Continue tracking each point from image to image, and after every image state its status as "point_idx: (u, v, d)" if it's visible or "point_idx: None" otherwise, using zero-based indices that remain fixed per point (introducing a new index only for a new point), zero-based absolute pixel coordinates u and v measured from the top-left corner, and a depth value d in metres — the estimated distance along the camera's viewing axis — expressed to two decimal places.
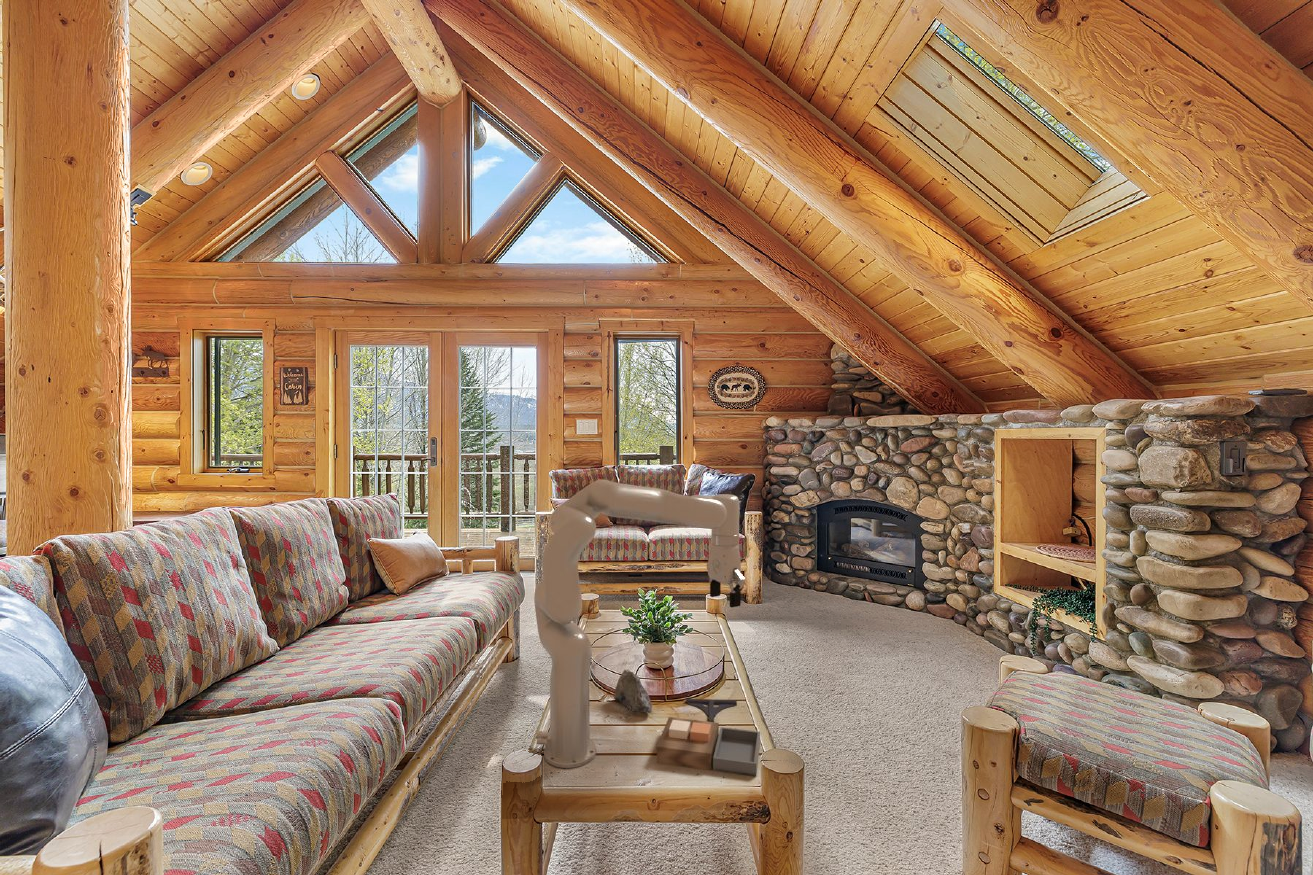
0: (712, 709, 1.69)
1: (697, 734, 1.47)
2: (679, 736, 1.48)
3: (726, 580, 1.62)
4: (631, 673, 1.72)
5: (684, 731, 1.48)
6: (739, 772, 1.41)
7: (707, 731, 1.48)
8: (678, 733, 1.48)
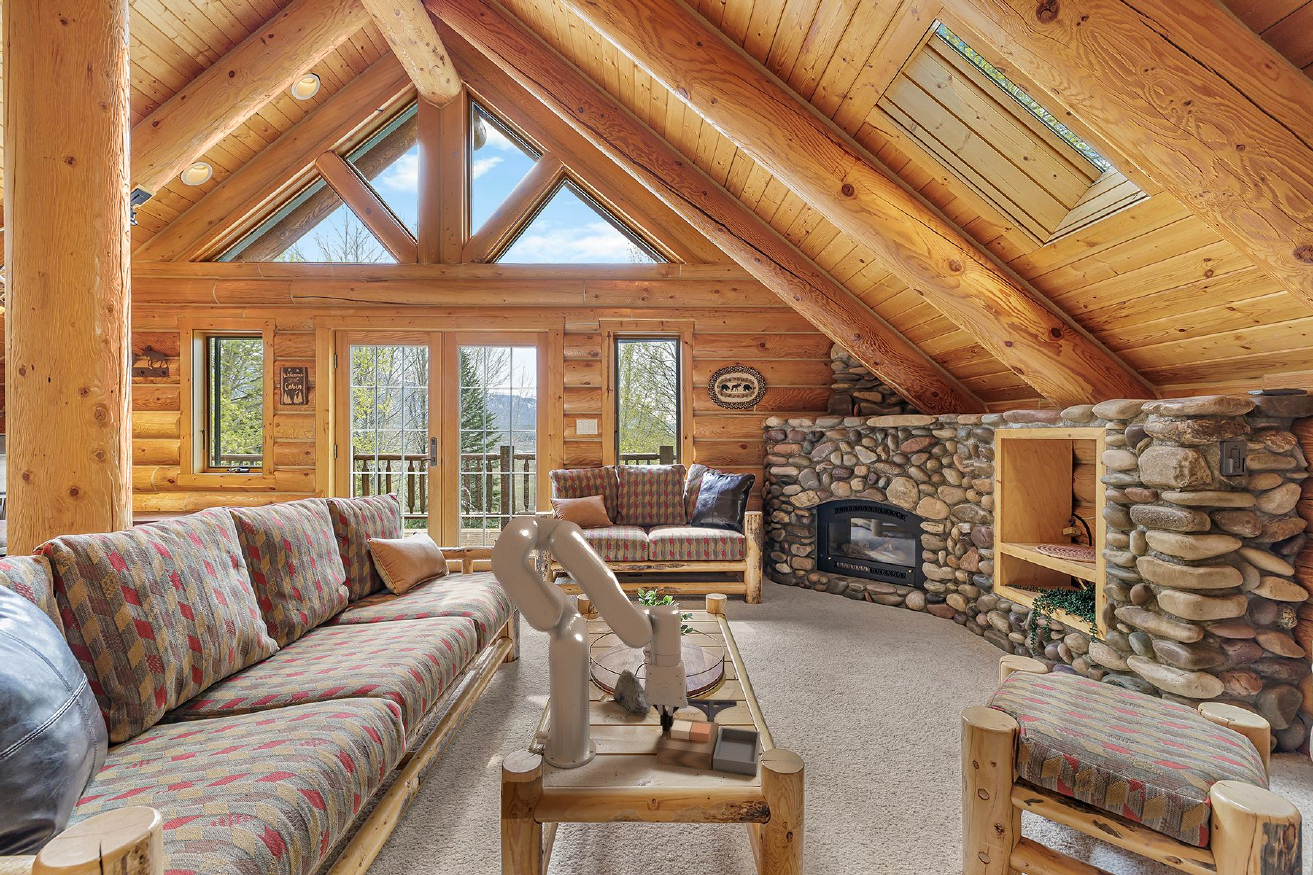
0: (712, 709, 1.69)
1: (697, 734, 1.47)
2: (681, 736, 1.48)
3: (682, 701, 1.47)
4: (630, 673, 1.71)
5: (686, 731, 1.48)
6: (739, 772, 1.41)
7: (707, 731, 1.48)
8: (680, 733, 1.48)
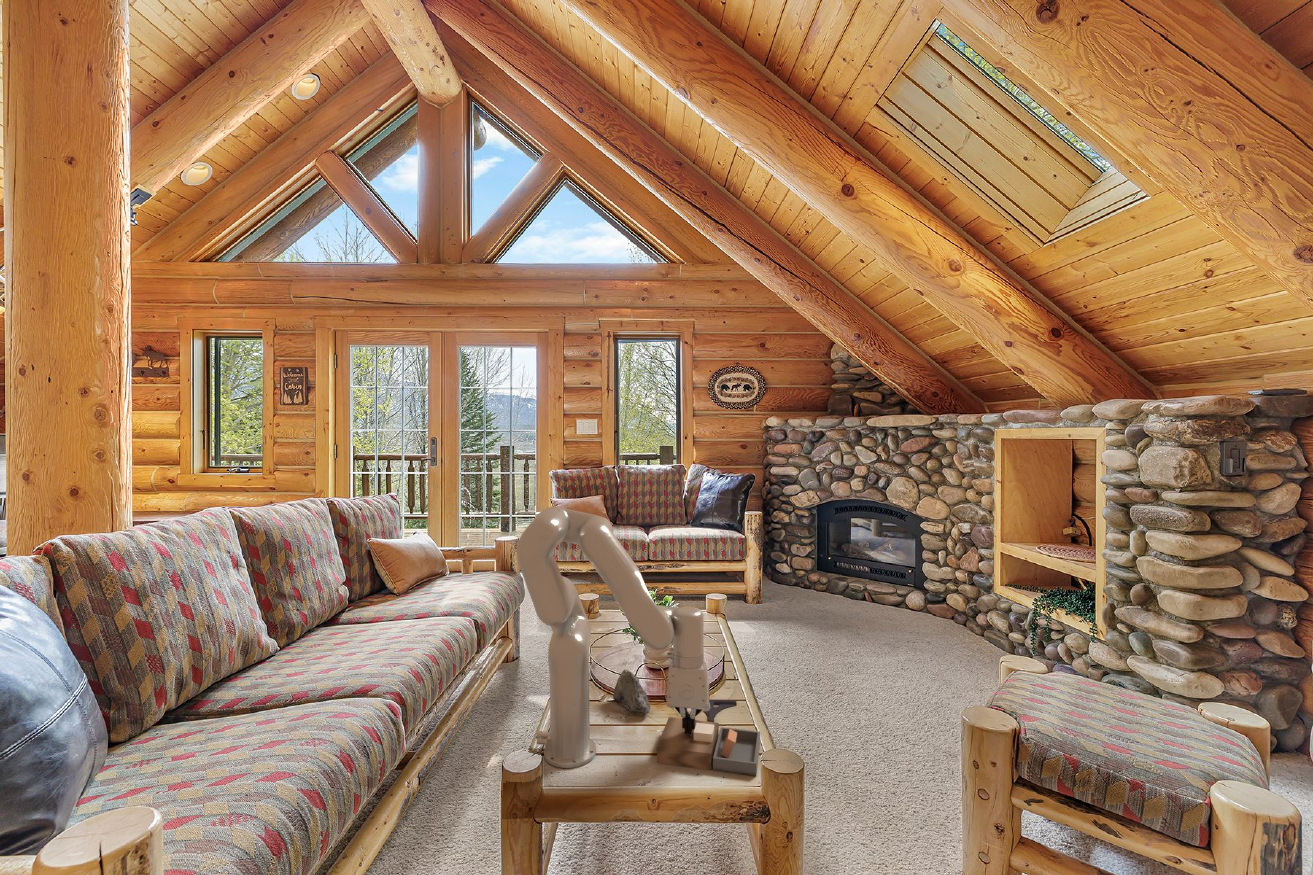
0: (712, 709, 1.69)
1: (730, 747, 1.46)
2: (704, 739, 1.47)
3: (705, 704, 1.46)
4: (630, 673, 1.71)
5: (709, 734, 1.47)
6: (739, 772, 1.41)
7: None
8: (703, 736, 1.47)
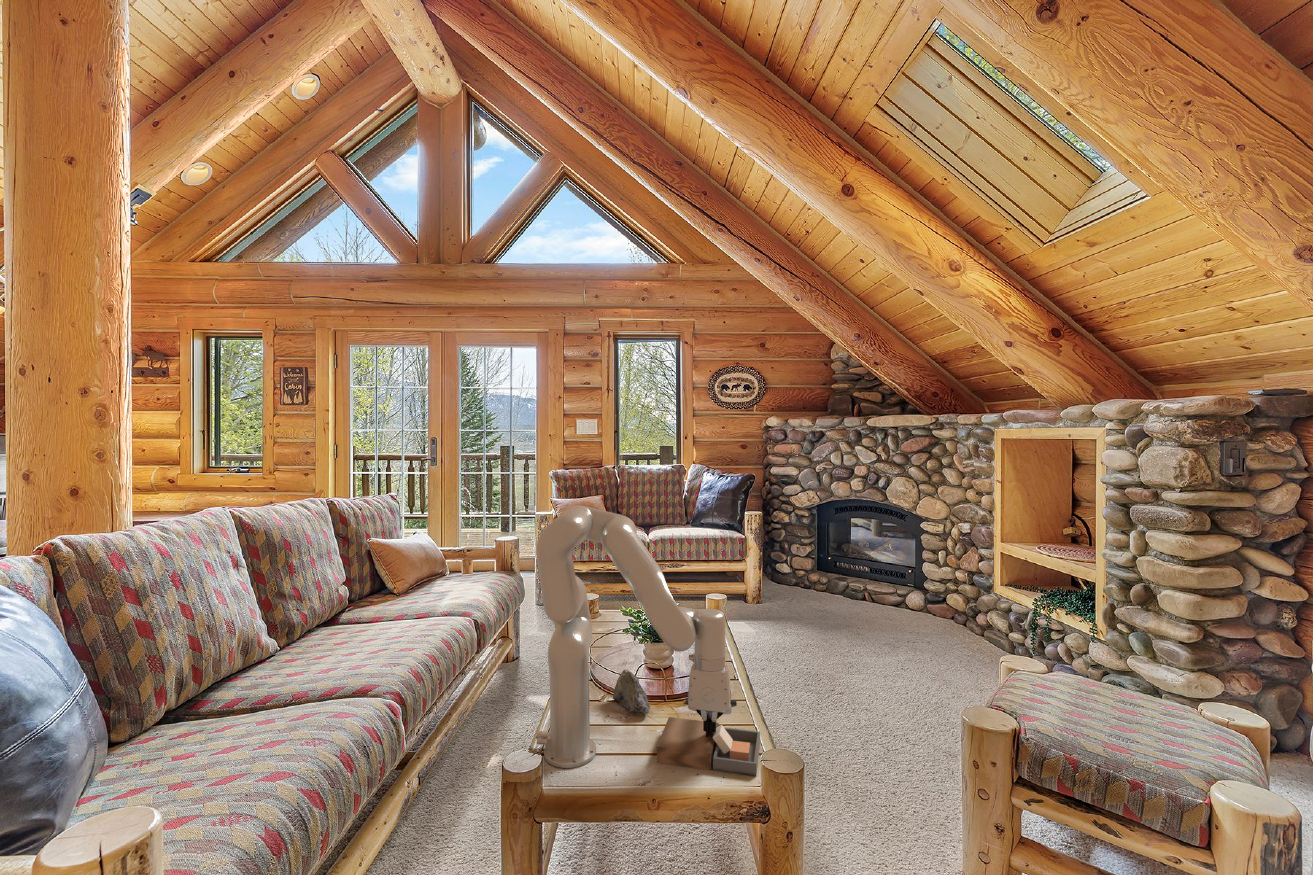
0: None
1: (741, 757, 1.45)
2: (720, 746, 1.46)
3: (727, 707, 1.45)
4: (629, 673, 1.71)
5: (728, 747, 1.46)
6: (739, 772, 1.41)
7: None
8: (722, 743, 1.46)
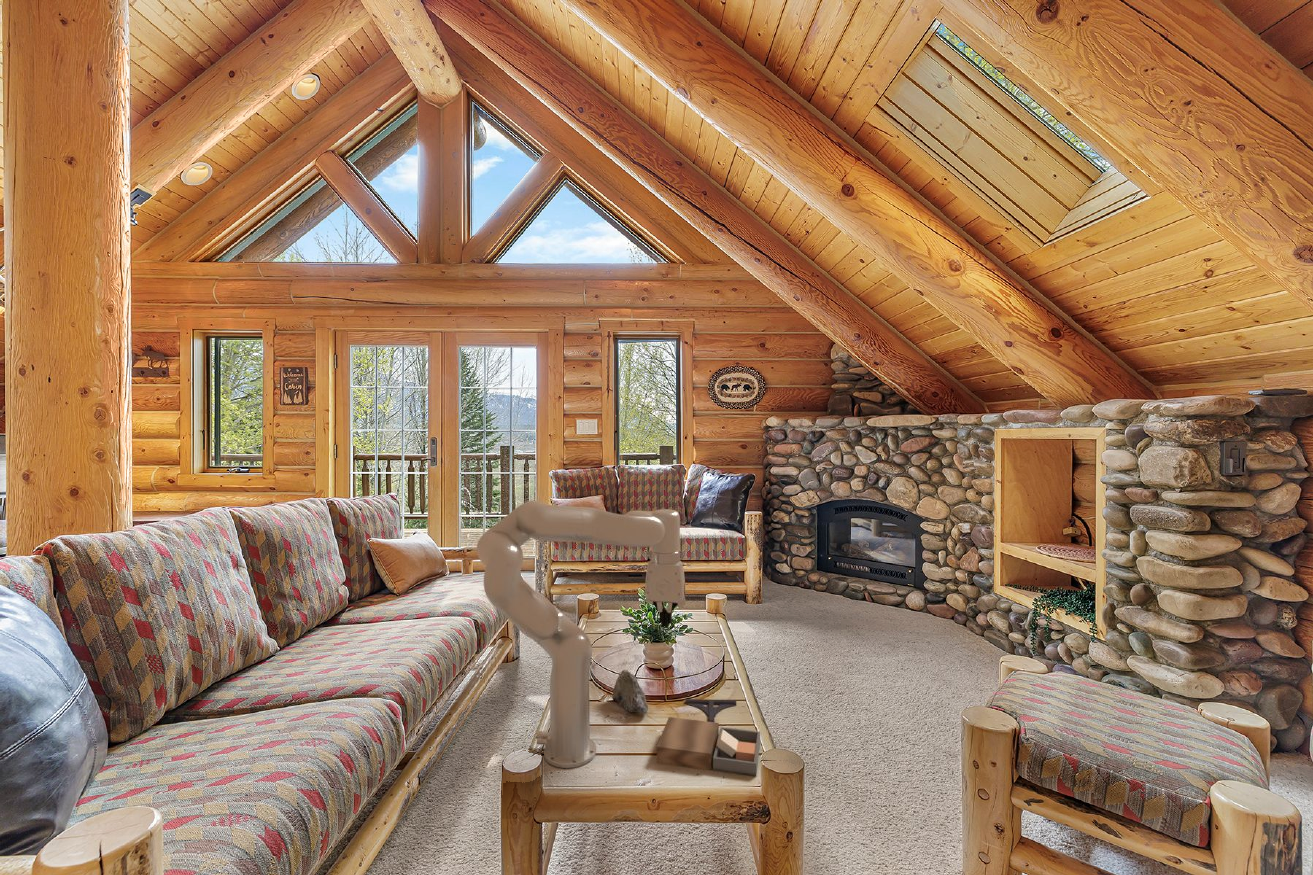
0: (712, 709, 1.69)
1: (747, 758, 1.45)
2: (726, 750, 1.46)
3: (680, 597, 1.56)
4: (628, 673, 1.71)
5: (733, 749, 1.46)
6: (739, 772, 1.41)
7: None
8: (726, 747, 1.46)
